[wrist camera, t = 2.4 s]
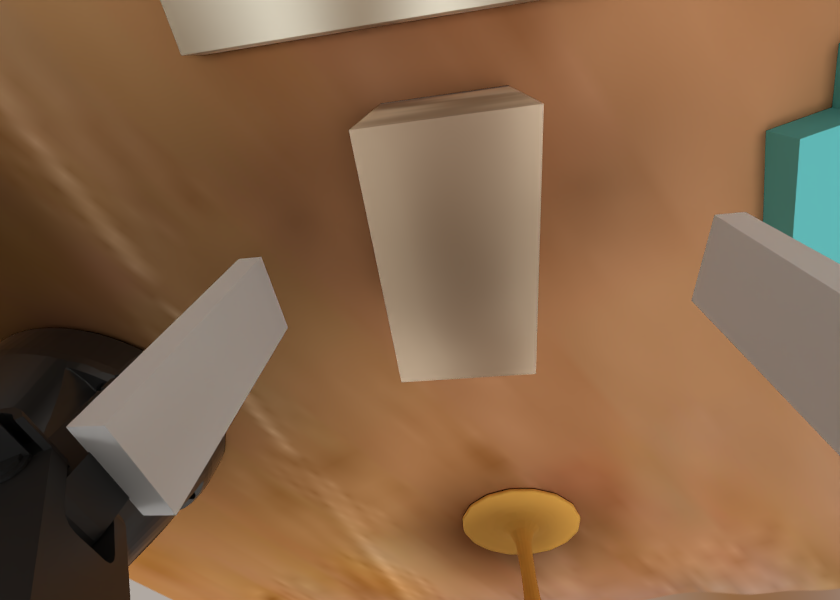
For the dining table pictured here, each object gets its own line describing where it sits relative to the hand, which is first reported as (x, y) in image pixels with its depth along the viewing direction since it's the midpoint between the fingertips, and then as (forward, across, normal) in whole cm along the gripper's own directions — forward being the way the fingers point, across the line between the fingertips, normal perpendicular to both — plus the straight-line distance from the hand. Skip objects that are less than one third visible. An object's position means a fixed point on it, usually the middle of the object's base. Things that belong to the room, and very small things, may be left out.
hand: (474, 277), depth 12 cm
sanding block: (+7, -1, 0) cm, 7 cm away
